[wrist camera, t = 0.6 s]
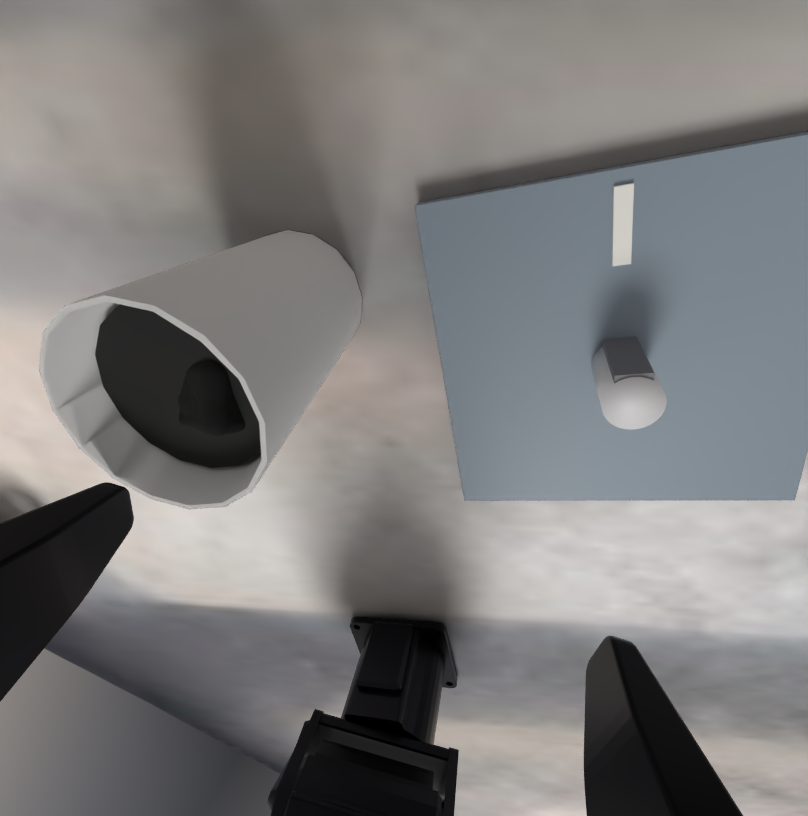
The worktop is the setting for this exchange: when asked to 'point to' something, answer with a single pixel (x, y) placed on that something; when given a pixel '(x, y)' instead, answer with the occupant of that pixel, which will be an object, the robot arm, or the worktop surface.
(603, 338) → the base plate
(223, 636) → the worktop surface
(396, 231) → the worktop surface
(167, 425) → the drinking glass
